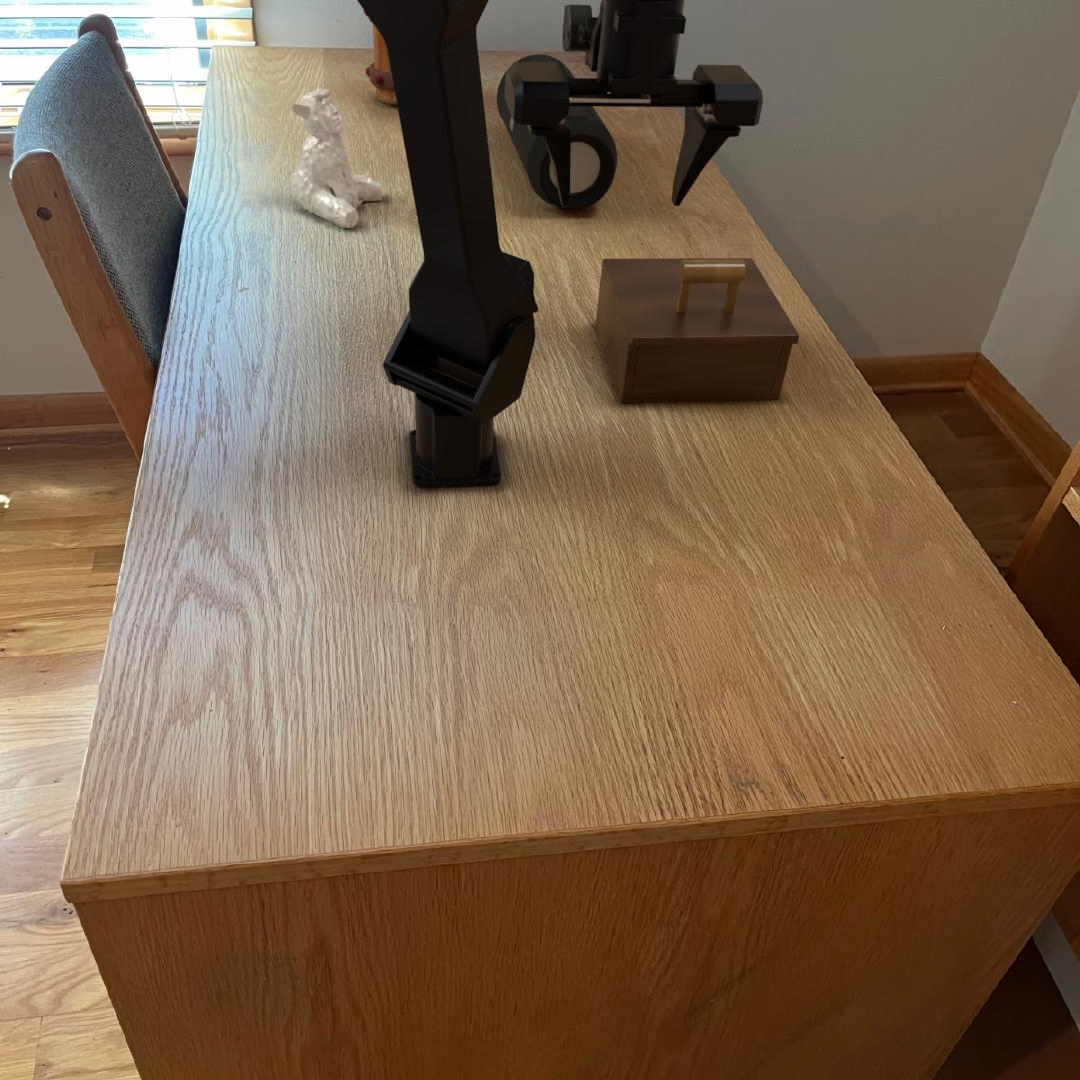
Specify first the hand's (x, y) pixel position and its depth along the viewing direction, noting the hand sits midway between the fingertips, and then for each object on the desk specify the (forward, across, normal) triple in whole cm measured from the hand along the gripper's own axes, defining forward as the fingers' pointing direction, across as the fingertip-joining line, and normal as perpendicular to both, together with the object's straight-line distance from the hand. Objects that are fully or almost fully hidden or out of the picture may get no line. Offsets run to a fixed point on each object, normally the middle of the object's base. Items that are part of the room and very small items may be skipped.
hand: (620, 204), depth 82 cm
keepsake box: (+13, -7, +3) cm, 15 cm away
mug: (+13, +14, -60) cm, 63 cm away
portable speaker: (+13, -2, -39) cm, 41 cm away
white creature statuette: (+13, +24, -30) cm, 40 cm away
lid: (+7, -7, +3) cm, 10 cm away
